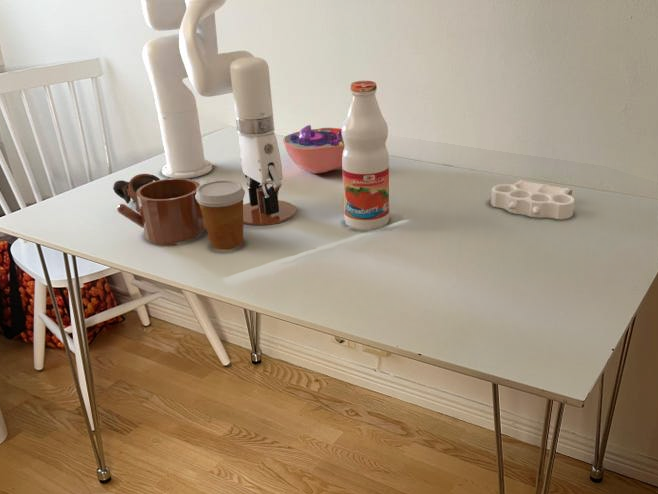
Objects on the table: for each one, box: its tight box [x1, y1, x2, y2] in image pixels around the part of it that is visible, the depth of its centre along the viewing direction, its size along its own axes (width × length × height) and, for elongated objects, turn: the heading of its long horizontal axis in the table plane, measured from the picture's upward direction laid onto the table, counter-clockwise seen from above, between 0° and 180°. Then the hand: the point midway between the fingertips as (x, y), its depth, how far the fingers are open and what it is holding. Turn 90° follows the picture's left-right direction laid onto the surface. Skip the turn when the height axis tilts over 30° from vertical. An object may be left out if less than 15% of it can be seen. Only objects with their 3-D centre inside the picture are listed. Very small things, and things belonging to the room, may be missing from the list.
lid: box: [243, 186, 297, 227], centre depth 152 cm, size 13×13×6 cm
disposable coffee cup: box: [195, 179, 246, 251], centre depth 138 cm, size 10×10×12 cm
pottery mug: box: [112, 173, 161, 213], centre depth 159 cm, size 12×10×8 cm
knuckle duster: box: [490, 179, 576, 221], centre depth 152 cm, size 3×18×15 cm
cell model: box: [282, 124, 344, 175], centre depth 173 cm, size 17×20×11 cm
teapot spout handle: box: [116, 203, 144, 229], centre depth 145 cm, size 21×2×6 cm, turn 105°
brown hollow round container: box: [136, 177, 207, 246], centre depth 145 cm, size 13×13×10 cm
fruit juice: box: [341, 80, 390, 231], centre depth 141 cm, size 9×9×28 cm
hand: (264, 208), depth 152 cm, fingers open, 5 cm apart
